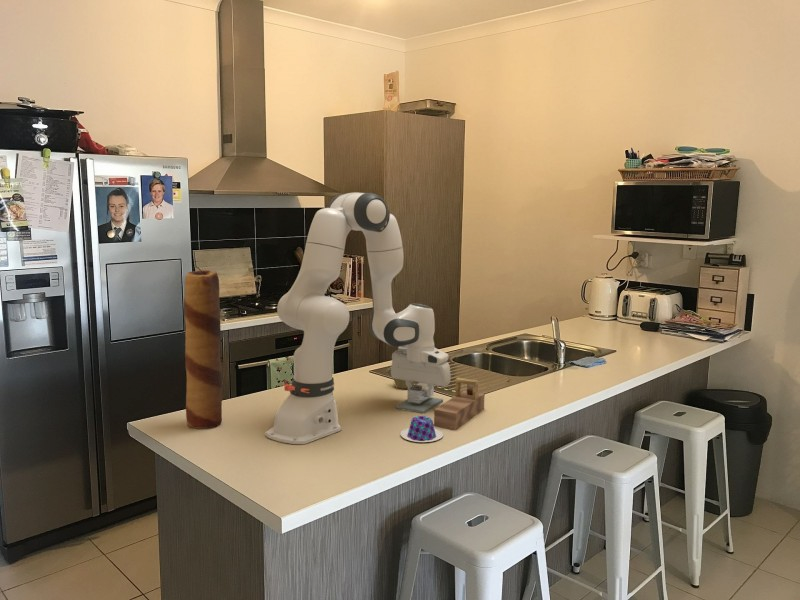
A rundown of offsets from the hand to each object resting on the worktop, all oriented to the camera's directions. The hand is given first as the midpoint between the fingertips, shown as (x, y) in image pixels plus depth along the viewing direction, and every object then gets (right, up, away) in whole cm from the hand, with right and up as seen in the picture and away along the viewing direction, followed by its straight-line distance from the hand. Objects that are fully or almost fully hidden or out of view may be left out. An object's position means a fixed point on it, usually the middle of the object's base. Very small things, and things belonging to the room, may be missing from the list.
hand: (419, 395), depth 211 cm
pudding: (0, -8, -26) cm, 28 cm away
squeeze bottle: (-5, 0, +20) cm, 21 cm away
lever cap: (0, -1, +1) cm, 2 cm away
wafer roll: (-63, -6, -19) cm, 67 cm away
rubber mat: (0, -3, 0) cm, 3 cm away
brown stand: (+12, -5, -11) cm, 17 cm away
